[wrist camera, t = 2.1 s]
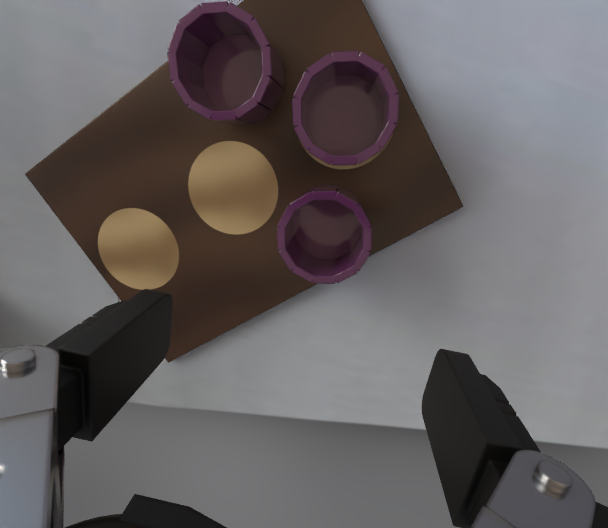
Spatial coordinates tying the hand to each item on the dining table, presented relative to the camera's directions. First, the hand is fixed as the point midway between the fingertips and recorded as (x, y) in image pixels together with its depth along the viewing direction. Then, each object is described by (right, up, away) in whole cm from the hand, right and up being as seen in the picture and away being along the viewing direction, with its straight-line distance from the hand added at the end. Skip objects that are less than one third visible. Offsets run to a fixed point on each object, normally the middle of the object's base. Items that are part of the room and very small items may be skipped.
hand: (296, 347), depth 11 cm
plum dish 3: (+2, +5, +15) cm, 16 cm away
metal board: (-5, +8, +15) cm, 18 cm away
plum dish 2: (+3, +12, +13) cm, 18 cm away
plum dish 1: (-4, +14, +13) cm, 20 cm away
